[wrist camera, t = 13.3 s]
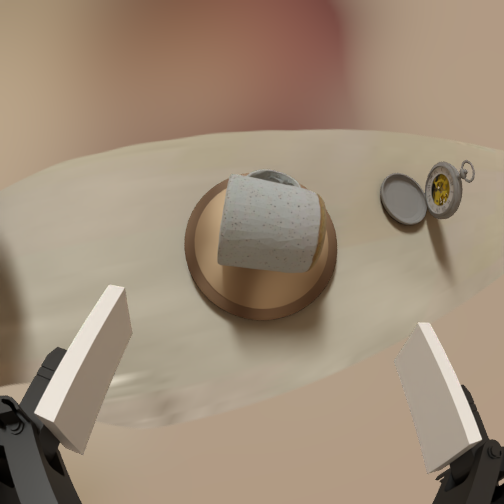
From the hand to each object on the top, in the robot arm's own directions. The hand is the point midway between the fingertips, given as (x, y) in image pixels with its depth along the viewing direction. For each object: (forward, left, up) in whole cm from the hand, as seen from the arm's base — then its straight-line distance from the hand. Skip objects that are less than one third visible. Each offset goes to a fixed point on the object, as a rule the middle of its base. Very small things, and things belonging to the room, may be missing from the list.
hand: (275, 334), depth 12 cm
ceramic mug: (0, +10, -15) cm, 18 cm away
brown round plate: (0, +9, -16) cm, 18 cm away
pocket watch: (+17, +17, -16) cm, 29 cm away
